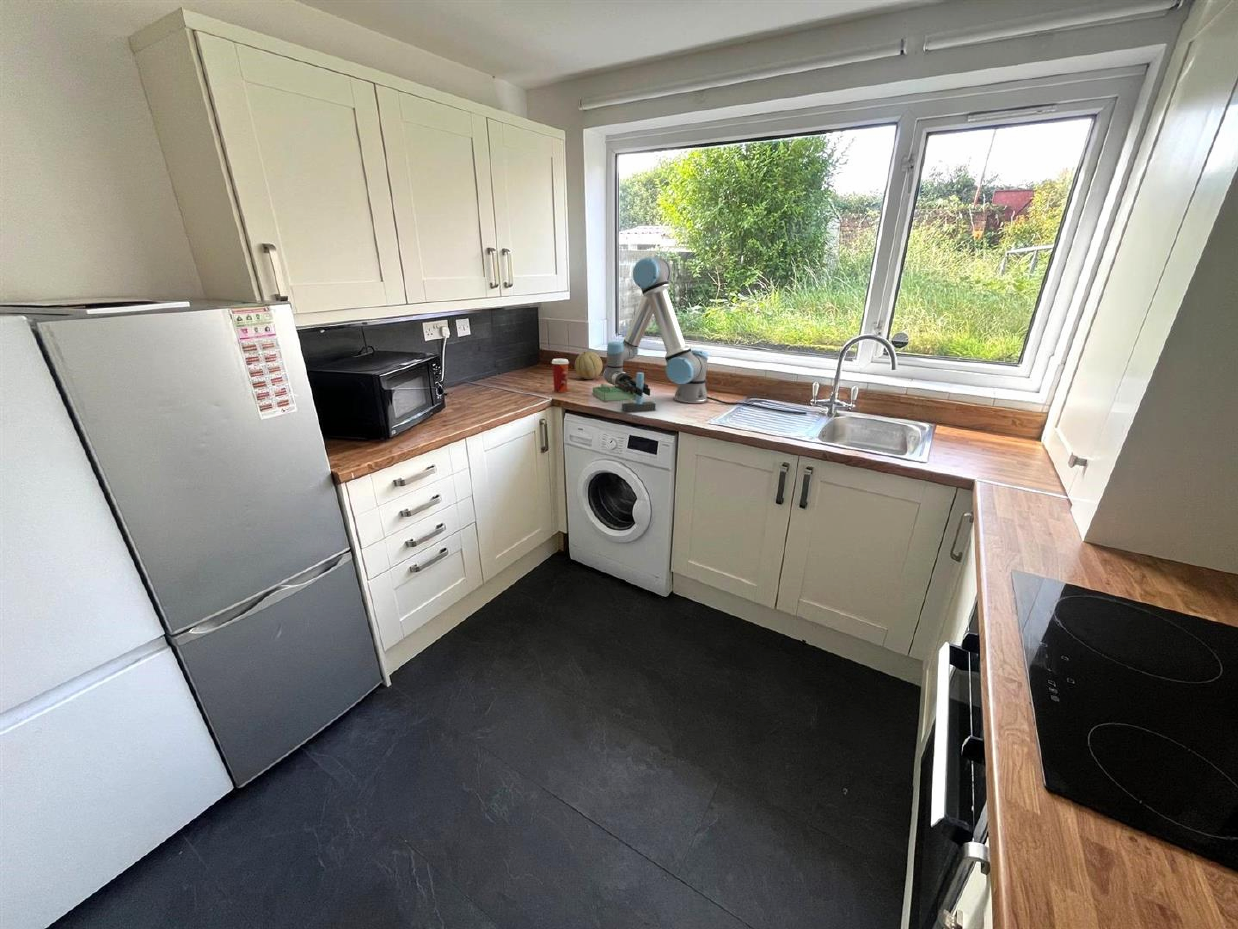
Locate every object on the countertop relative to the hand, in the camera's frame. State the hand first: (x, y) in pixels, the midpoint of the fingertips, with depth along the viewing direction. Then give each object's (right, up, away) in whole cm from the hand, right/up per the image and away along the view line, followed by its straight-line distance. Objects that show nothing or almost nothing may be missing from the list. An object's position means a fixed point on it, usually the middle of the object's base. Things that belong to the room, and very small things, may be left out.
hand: (645, 392), depth 204 cm
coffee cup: (-39, +6, +37) cm, 54 cm away
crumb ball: (-6, -2, +15) cm, 16 cm away
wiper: (-2, -7, +8) cm, 11 cm away
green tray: (-14, +4, +34) cm, 37 cm away
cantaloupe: (-27, +16, +65) cm, 72 cm away
